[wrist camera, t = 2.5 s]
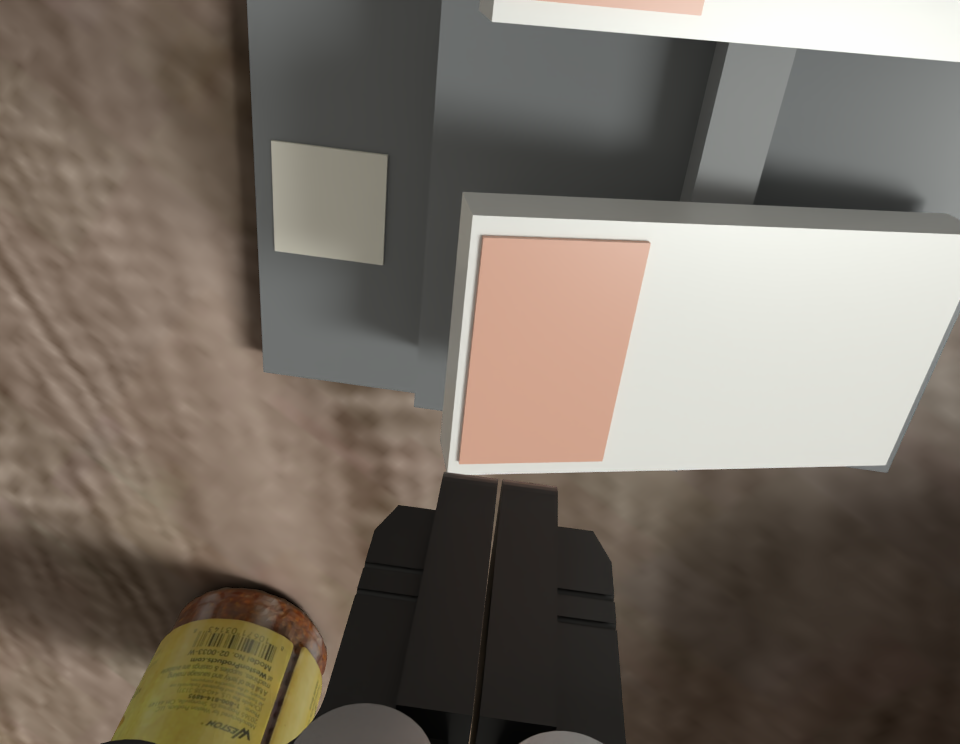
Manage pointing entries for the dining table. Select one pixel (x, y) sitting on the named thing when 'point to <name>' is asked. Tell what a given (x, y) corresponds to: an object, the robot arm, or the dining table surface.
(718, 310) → the switch
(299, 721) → the sauce bottle
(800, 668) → the dining table surface
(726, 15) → the switch
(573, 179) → the switch box
